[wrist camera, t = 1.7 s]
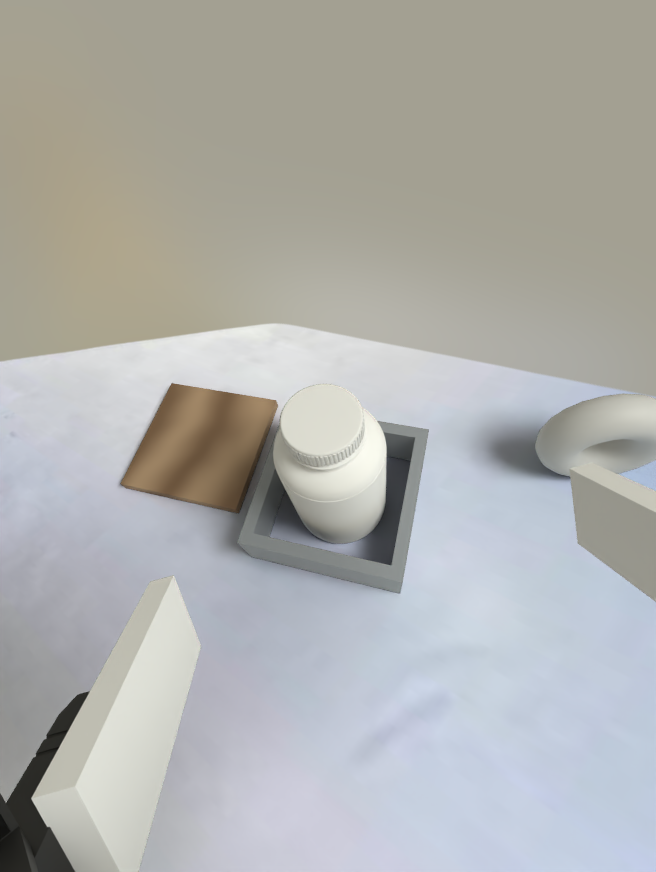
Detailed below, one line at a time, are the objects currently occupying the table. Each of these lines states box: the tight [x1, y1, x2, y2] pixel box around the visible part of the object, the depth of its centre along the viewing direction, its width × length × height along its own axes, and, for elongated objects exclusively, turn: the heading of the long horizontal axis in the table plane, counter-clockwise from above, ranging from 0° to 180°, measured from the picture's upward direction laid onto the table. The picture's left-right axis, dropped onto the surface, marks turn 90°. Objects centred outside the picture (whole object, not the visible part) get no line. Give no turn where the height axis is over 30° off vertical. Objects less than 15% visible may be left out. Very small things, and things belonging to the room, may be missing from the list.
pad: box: [121, 383, 278, 513], centre depth 44 cm, size 12×12×1 cm
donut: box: [535, 394, 656, 476], centre depth 35 cm, size 10×4×10 cm, turn 89°
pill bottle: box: [273, 384, 387, 544], centre depth 34 cm, size 8×8×15 cm
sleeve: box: [237, 421, 429, 593], centre depth 38 cm, size 13×13×4 cm
